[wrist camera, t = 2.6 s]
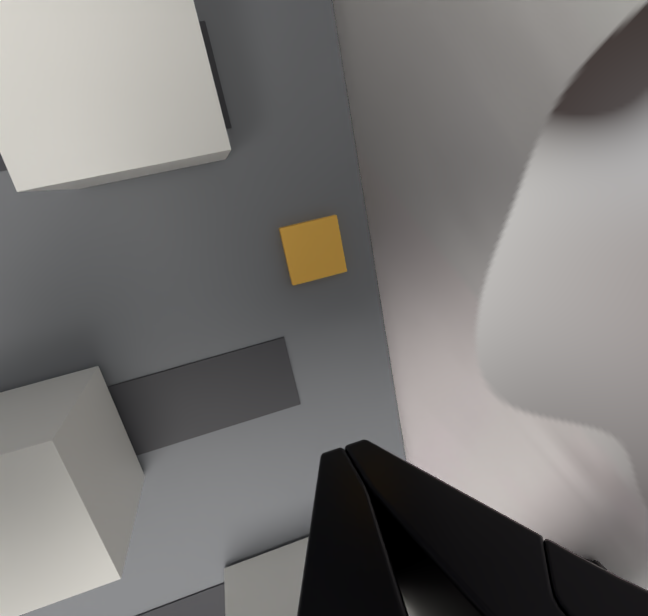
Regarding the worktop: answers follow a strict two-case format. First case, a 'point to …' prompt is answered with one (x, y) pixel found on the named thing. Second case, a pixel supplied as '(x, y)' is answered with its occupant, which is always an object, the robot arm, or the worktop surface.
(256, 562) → the block
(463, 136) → the worktop surface
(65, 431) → the block
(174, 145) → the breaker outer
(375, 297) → the breaker panel
